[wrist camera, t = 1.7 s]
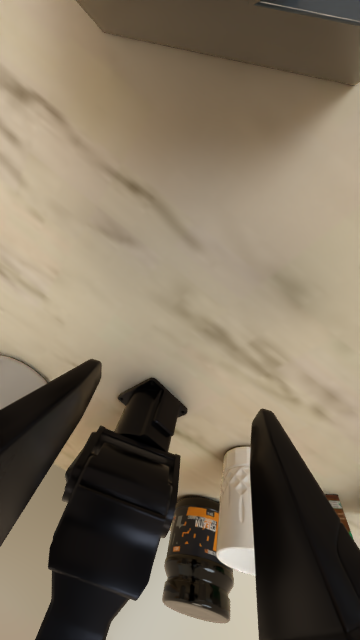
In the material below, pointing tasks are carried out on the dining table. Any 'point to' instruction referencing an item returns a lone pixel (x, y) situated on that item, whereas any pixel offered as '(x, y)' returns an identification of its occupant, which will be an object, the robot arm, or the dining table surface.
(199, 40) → the grey push button box
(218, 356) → the dining table surface
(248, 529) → the drinking glass
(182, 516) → the supplement container
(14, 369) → the cylinder vase
